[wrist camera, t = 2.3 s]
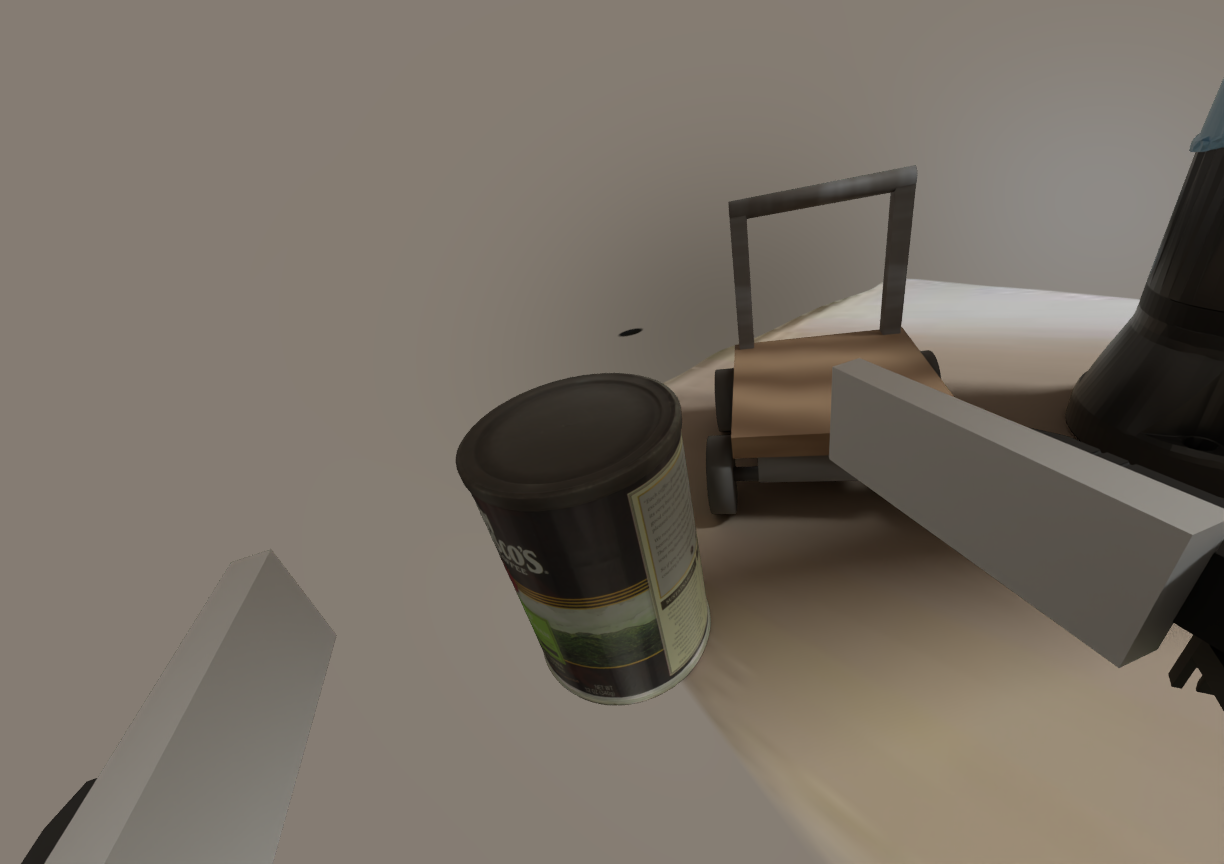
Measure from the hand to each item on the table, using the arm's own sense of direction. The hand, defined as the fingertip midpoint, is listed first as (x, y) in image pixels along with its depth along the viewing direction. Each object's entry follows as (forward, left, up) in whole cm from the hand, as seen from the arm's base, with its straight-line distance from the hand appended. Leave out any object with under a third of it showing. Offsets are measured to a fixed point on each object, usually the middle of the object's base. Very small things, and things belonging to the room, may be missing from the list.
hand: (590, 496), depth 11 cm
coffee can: (+4, -9, -17) cm, 20 cm away
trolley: (-9, -25, -17) cm, 32 cm away
